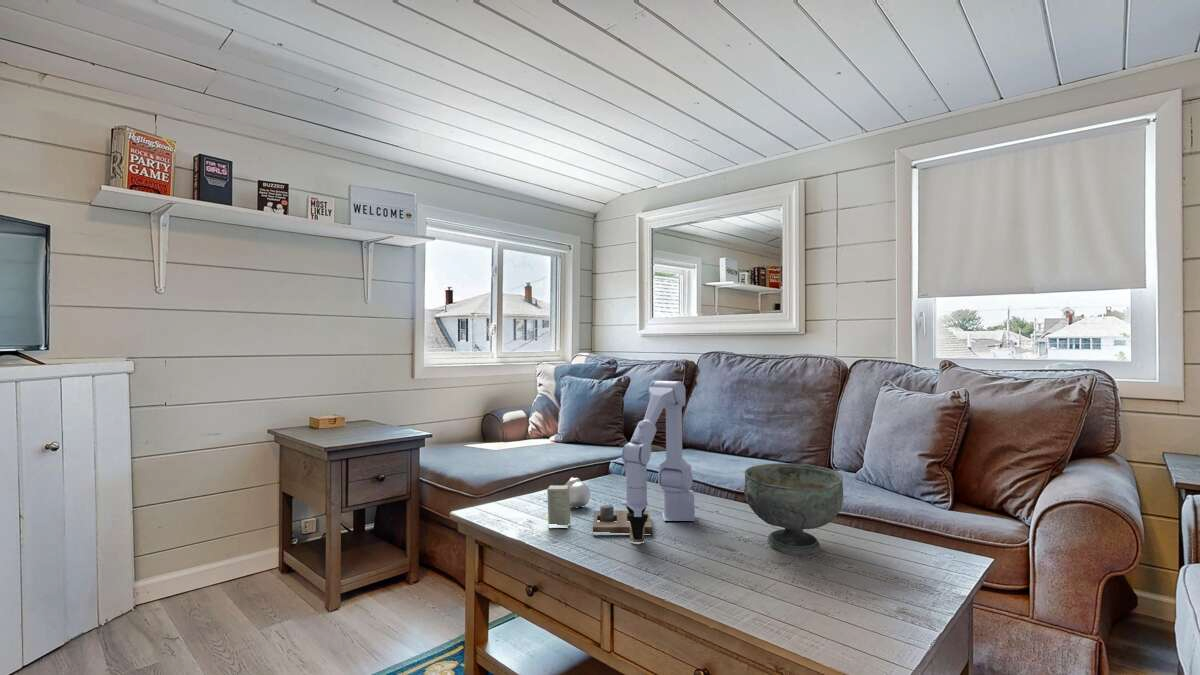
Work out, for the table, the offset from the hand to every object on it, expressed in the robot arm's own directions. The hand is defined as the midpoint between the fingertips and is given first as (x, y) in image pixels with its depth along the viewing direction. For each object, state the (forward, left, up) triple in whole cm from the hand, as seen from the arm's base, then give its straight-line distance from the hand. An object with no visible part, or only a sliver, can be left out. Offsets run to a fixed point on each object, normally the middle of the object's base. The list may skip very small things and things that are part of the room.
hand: (637, 535), depth 159 cm
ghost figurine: (+19, -33, -2) cm, 38 cm away
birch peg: (0, 0, -2) cm, 2 cm away
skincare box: (+23, -13, -2) cm, 27 cm away
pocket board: (+4, -13, -2) cm, 14 cm away
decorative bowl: (-42, +4, -2) cm, 42 cm away
